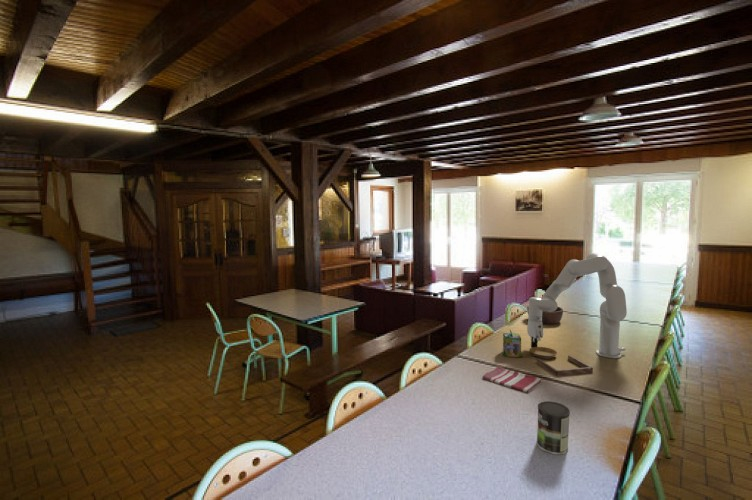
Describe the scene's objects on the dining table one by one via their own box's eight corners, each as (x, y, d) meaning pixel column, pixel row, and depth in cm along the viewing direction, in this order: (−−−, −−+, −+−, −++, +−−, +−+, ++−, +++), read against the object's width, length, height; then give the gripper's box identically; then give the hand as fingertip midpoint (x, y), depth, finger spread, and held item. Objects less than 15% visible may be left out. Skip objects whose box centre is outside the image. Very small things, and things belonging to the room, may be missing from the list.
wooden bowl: (569, 325, 280) (569, 311, 279) (534, 326, 280) (534, 312, 279) (553, 316, 305) (554, 303, 304) (521, 316, 305) (522, 304, 304)
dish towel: (498, 369, 205) (498, 365, 205) (542, 383, 188) (542, 377, 188) (481, 379, 193) (481, 374, 193) (527, 395, 177) (528, 389, 176)
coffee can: (546, 455, 132) (547, 416, 130) (531, 438, 142) (532, 401, 141) (574, 453, 133) (576, 414, 131) (558, 436, 143) (559, 400, 142)
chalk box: (521, 357, 220) (521, 332, 218) (504, 356, 222) (505, 331, 220) (518, 352, 229) (519, 327, 227) (502, 351, 231) (503, 327, 229)
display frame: (569, 359, 216) (569, 355, 216) (592, 372, 199) (592, 367, 199) (536, 362, 213) (536, 358, 212) (556, 375, 195) (556, 371, 195)
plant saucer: (525, 350, 231) (525, 346, 231) (550, 350, 230) (550, 346, 230) (534, 360, 216) (535, 355, 216) (561, 360, 216) (561, 355, 216)
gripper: (548, 321, 224) (547, 351, 225) (533, 314, 238) (532, 343, 240) (536, 321, 222) (535, 352, 224) (522, 315, 237) (521, 344, 239)
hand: (534, 347), depth 232 cm, fingers closed
